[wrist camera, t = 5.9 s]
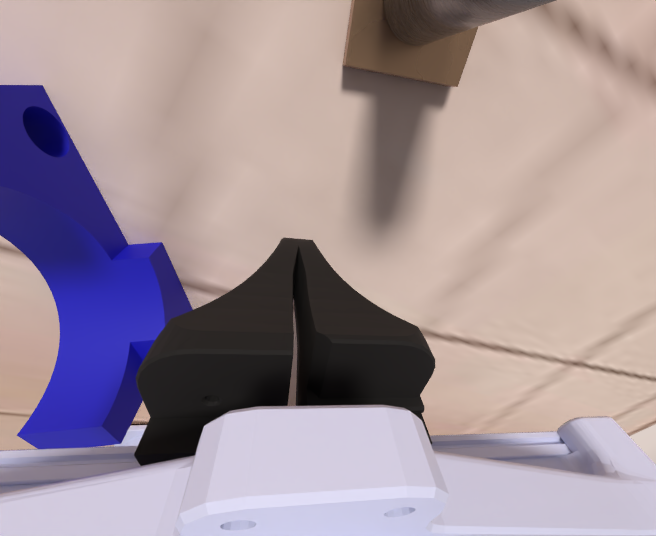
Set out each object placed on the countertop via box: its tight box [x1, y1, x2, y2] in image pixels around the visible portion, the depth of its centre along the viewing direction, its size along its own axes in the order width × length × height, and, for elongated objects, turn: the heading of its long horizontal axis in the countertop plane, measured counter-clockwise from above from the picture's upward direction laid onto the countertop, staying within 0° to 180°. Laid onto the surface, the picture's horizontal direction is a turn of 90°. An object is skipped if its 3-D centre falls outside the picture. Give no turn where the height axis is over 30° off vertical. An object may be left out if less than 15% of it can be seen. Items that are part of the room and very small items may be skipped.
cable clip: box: [0, 85, 193, 449], centre depth 10 cm, size 12×4×6 cm, turn 2°
